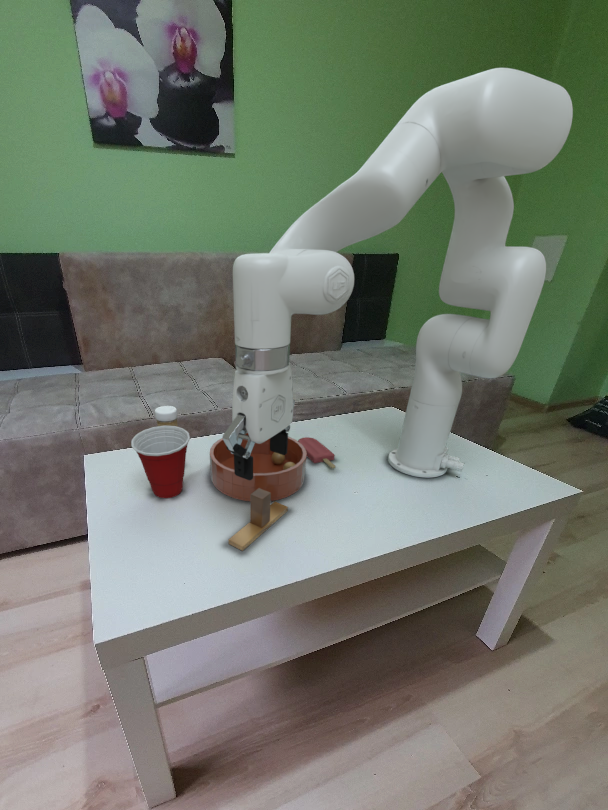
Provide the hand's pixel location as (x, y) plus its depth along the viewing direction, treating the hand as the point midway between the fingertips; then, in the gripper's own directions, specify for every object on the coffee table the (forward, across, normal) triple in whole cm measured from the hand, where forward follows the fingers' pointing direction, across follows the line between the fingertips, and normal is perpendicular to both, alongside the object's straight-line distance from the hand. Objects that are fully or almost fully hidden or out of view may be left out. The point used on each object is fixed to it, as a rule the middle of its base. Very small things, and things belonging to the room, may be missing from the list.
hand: (262, 464), depth 62 cm
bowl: (+12, +13, +10) cm, 21 cm away
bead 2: (+10, +17, +4) cm, 20 cm away
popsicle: (+13, +29, +4) cm, 32 cm away
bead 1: (+10, +20, +9) cm, 24 cm away
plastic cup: (+12, -3, +21) cm, 25 cm away
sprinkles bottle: (+12, +5, +28) cm, 31 cm away
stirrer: (+12, -1, 0) cm, 12 cm away
